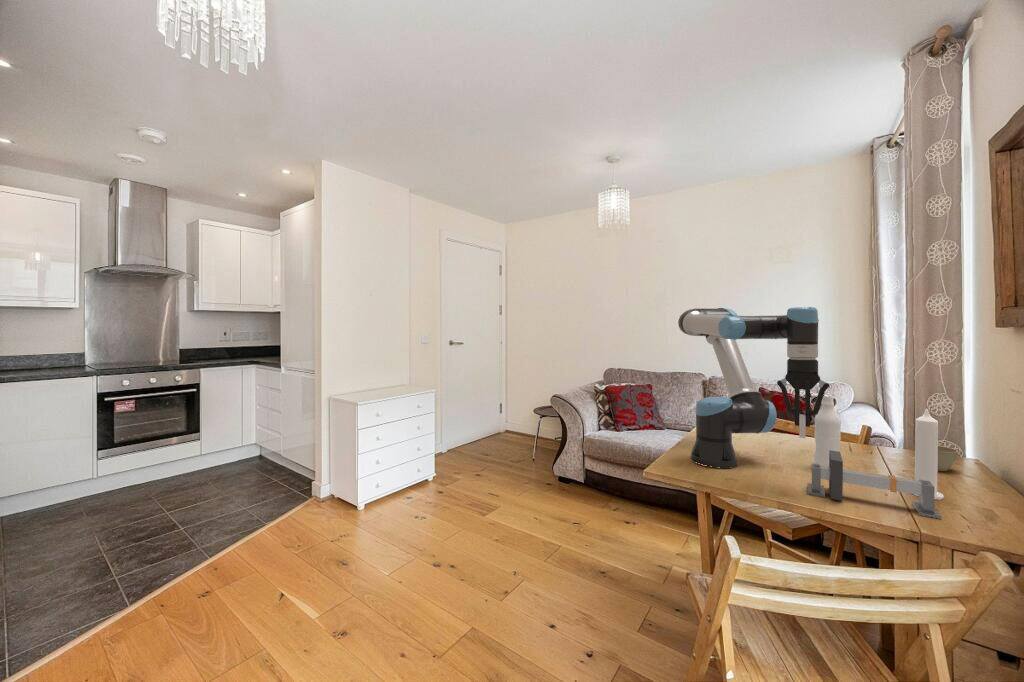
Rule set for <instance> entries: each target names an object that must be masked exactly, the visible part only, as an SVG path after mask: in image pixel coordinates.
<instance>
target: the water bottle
mask: <svg viewBox="0 0 1024 682" xmlns="http://www.w3.org/2000/svg"><path fill="white" fill-rule="evenodd" d="M834 405H835V403H834V397H833V396H825V395H824V396H823V399H822V402H821V405H820V409H819V412H818V414H817V415H814V433H813V437H814V440H815V449H814V454H813V462H814V463H813V464H819V465H820V466H826V467H829V450H831V451H839V452H840V443H841V441H842V437H841V425H842V421H841V418H840V416H839V414H838V413H837V411H836V410H835V407H834Z"/></svg>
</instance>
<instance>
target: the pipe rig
mask: <svg viewBox="0 0 1024 682" xmlns="http://www.w3.org/2000/svg"><path fill="white" fill-rule="evenodd" d="M821 480H827V481H829V480H831V467H826V466H820V465H819V464H815V463H811V483H809V482H807V485H806V486H807V495H810V496H815V497H820V498H826V492H825V491H826V489H825V485H822V484H821V482H822V481H821ZM843 483H845V484H850V485H856V486H857V485H858V486H863V487H868V488H869V487H870V488H875V489H881V490H887V491H890V493H896V494H897V493H905V494H910V495H913V494H916V495H919V496H918V501H912V502H911V505H912V506H913V508H914V510H915V509H916V510H915V511H916V514H917V515H918V514H919V515H918V516H920V515H922V516H921V517H925V516H927V517H926V518H931V517H933V518H932V519H936V518H938V519H937V520H942V515H941V514H940V513H939V511H938V510H937V508H936V507H935V499H934V489H935V487H934V486H933V485H932V484H931V482H930V481H925V480H919V481H918V480H915V479H910V478H905V477H899V476H895V475H893V474H888V475H884V474H878V473H872V472H865V471H859V470H851V469H847V468H843ZM916 495H915V496H916Z"/></svg>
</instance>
